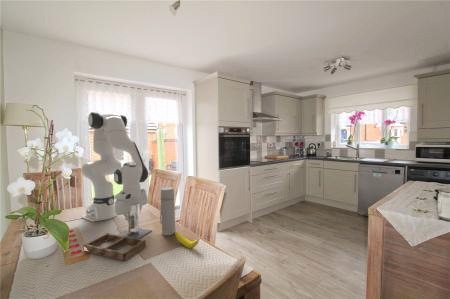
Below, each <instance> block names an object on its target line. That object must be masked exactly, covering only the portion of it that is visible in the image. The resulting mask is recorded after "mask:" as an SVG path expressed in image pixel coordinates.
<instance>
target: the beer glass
mask: <svg viewBox="0 0 450 299" xmlns="http://www.w3.org/2000/svg"><path fill="white" fill-rule="evenodd" d="M127 215H128V216H129V217H130V219H129V220H126V221H127V229H126V230H127V232H128V233H135V232H138V231H139V228H140V227H139V221H140V215H141V211H140V207H139V203H138V204H137V205H131V211H129V212H128V214H127Z"/></svg>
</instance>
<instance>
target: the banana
mask: <svg viewBox="0 0 450 299" xmlns="http://www.w3.org/2000/svg"><path fill="white" fill-rule="evenodd" d="M174 234H175V236H176V239H177V240H178V241H179V243H181V244H182V245H183V246H185V248H188V249H193V248H195V247H196V246H197V245H198V244H199V240H200V239H196V240H194V241H192V240H189V239H188V238H186V237H185V236H183V235H182V234H181V233H179V232H178V231H176V230H175V233H174Z"/></svg>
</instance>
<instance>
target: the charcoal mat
mask: <svg viewBox="0 0 450 299" xmlns="http://www.w3.org/2000/svg"><path fill="white" fill-rule="evenodd" d="M127 230H128V229H126V230H124V231H122V232H121V233H119V234H117V235H120V236H126V237H131V238H137V239H143V237H144V236H147V235H149V233H152V229H146V228H140V227H139V231H138V232H135V233H128V232H127Z"/></svg>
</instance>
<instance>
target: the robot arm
mask: <svg viewBox="0 0 450 299" xmlns="http://www.w3.org/2000/svg"><path fill="white" fill-rule="evenodd" d="M87 122H88V126H89V127H90V128H91V129H94V130H93V143H92V144H93V148H92V150H93V152H94V153H95V154H97V155H99V157H100V159H99V160H90V161H88V162H84V164H82V165H81V170H80V171H81V173H82V175H83V176H84V177H85V178H86V179H88V180H89V181H90V182H91V183H92V186H93V190H94V197H92V198H91V199H92V203H91V204H90V205H89V206H87V208H86V210H85V214H83V215H82V217H81V219H84V220H87V221H88V222H89V221H90V222H98V221H99V222H100V221H106V220H109V219H112V218H115V217H116V216H124V220H125V221H127V220H129V219H130V217H129V216H128V215H127V214H128V212H129V211H131V205H137V204H138V203H139V207H140V212H141V211H142V208H143V206H145V205H147V204H148V195H147V191H146V189H145V188H141V184H140V183H144V182H146V180H147V179H148V177H149V170H148V168H147V167H146V165H145V162H144V161H143V159H142V155H141V153H140V151H139V148H138V146H137V145H136V142H135V141H133V140H132V139H131V138H130V136H129V134H128V132H127V131H128V130H127V128H126V127H127V126H128V119H127V117H126V116H125V114H123V113H116V112H111V111H108V112H107V111H91V112H90V113H89V114H88V118H87ZM113 149H116V150H120V151H124V152H126V153H128V154H130V156H131V159H132V162H131V161H129V162H125V163H123V164H122V162H121V161H120V160H119V159H118V158H117V157H116V156H115V154H114V150H113ZM110 175H111V176H112V175H113V181H114V183H115V184H117V185H119V186H120V185H121V186H122V189H121V190H120V192H118V193H116V194H114V184H113V183H112V182H111V181H109V180H107V178H106V176H110Z"/></svg>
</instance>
